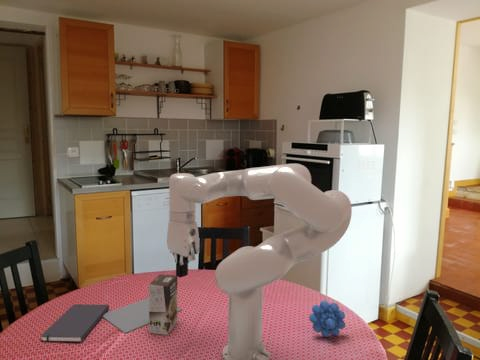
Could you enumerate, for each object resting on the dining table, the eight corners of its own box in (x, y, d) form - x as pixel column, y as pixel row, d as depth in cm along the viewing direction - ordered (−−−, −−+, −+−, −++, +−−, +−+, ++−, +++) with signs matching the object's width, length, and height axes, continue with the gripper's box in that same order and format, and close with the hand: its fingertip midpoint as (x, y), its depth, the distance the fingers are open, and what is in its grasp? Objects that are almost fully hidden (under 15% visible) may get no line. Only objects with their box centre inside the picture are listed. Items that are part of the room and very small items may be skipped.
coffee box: (168, 335, 123) (167, 286, 120) (148, 333, 124) (147, 284, 122) (178, 321, 132) (178, 275, 129) (160, 319, 133) (159, 273, 130)
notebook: (81, 342, 118) (109, 308, 139) (80, 337, 117) (108, 304, 138) (40, 341, 118) (73, 308, 139) (39, 336, 118) (73, 304, 139)
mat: (181, 310, 139) (181, 309, 139) (125, 333, 123) (125, 332, 123) (155, 296, 150) (155, 295, 150) (100, 316, 134) (100, 314, 134)
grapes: (312, 345, 119) (314, 307, 117) (306, 333, 125) (307, 297, 123) (349, 343, 120) (352, 306, 118) (341, 332, 126) (343, 296, 125)
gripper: (209, 218, 113) (208, 279, 116) (176, 209, 123) (176, 265, 126) (188, 223, 108) (187, 287, 110) (156, 213, 118) (156, 271, 121)
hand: (181, 275), depth 118 cm, fingers closed
